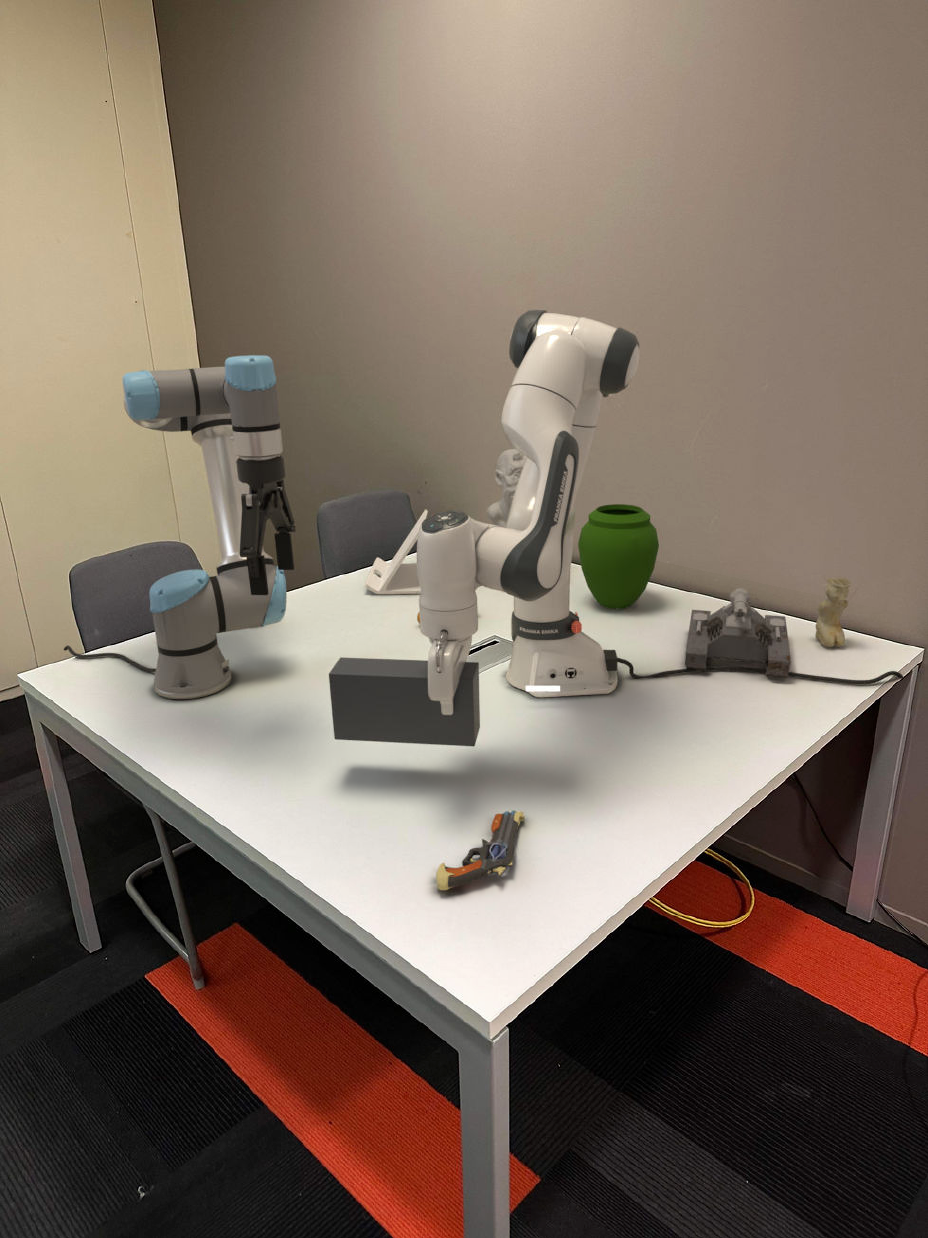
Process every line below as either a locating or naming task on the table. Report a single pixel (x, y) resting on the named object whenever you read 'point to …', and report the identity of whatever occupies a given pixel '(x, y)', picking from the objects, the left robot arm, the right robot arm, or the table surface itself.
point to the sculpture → (832, 613)
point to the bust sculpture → (506, 485)
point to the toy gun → (485, 854)
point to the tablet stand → (397, 569)
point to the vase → (618, 554)
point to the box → (400, 703)
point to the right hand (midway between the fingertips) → (452, 701)
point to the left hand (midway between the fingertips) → (273, 581)
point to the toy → (738, 636)
